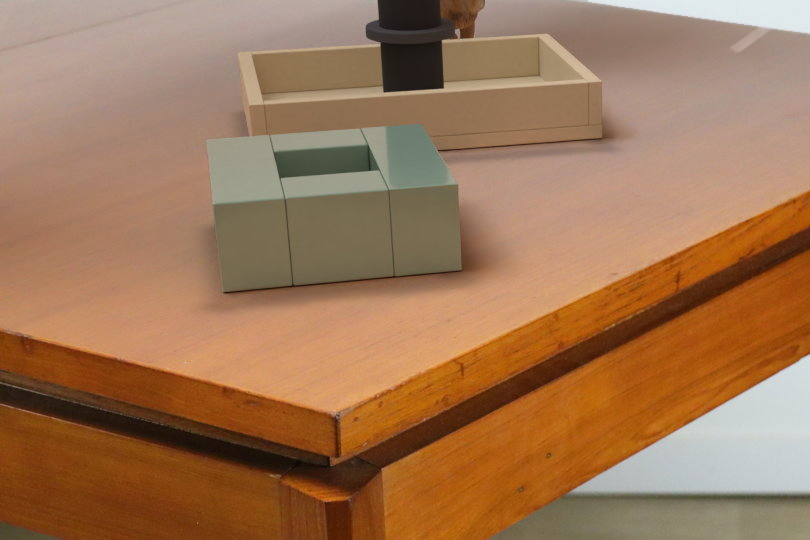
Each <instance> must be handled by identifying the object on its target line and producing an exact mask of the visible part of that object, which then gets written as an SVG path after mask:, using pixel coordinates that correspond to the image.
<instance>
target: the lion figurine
mask: <svg viewBox="0 0 810 540" xmlns="http://www.w3.org/2000/svg"><path fill="white" fill-rule="evenodd" d="M485 3H486V0H440V10H441V18H445V19H449V20H451V21H453V22H454V23H455V30H459V38H458V34H457V33H456V32H455V35H454V36H452V37H451V38H448V39H445V40H451V39H468V38H474V36H475V31H476V19H477V18H478V13H480V11H482V10H483V9H484V8H485V5H486V4H485Z"/></svg>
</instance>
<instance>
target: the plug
mask: <svg viewBox="0 0 810 540" xmlns="http://www.w3.org/2000/svg"><path fill="white" fill-rule="evenodd" d="M377 11H378V13H377V15H378V19H376V20H373V21H370V22H368V23H366V24H365V37H366V38H367V39H368V40H370V41H372V42H376V43H379V44H380V47H381V63H382V79H383V93H386V92H401V91H416V90H431V89H444V76H443V54H442V40H445V39H448V38H451V37H452V36H454V35H455V33H456V29H455V23H454V22H453V21H451V20H449V19H445V18H441V10H440V0H377Z"/></svg>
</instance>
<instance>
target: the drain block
mask: <svg viewBox="0 0 810 540" xmlns="http://www.w3.org/2000/svg"><path fill="white" fill-rule="evenodd" d="M205 144H206V153H207V164H208V175H209V183H210V195H211V204H212V205H211V206H212V212H213V222H214V232H215V239H216V240H215V241H216V248H217V257H218V266H219V275H220V281H221V282H220V284H221V285H220V286H221V290H222V291H221V292H222V293H229V292H240V291H250V290H261V289H271V288H283V287H292V286H306V285H315V284H317V285H318V284H328V283H337V282H348V281H349V282H350V281H358V280H371V279H381V278H391V277H404V276H405V277H406V276H414V275H425V274H427V275H428V274H436V273H447V272H448V273H449V272H456V271H462V269H463V267H462V247H461V244H462V243H461V221H460V199H459V183H458V181H457V180H456V179H455V177H454V175H453V174H452V172H451V170H450V168H449V167H448V165H447V163H446V162H445V160H444V159H443V157H442V155H441V154H440V151H439V150H437V149H436V147H435V145H434V144H433V142H432V140H431V139H430V137H429V135H428V134H427V132H426V130H425V129H424V127H423V125H422V124H411V125H397V126H383V127H370V128H361V129H345V130H331V131H317V132H303V133H289V134H275V135H270V136H269V135H261V136H249V135H248V136H236V137H222V138H221V137H220V138H209V139H206V141H205Z"/></svg>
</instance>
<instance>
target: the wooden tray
mask: <svg viewBox="0 0 810 540" xmlns="http://www.w3.org/2000/svg"><path fill="white" fill-rule="evenodd" d="M442 54H443V76H444V89H431V90H416V91H401V92H386V93H383V79H382V63H381V47H380V43H370V44H354V45H353V44H352V45H338V46H337V45H336V46H319V47H304V48H287V49H271V50H270V49H269V50H254V51H253V50H252V51H239V52H237V58H238V69H239V79H240V87H241V96H242V97H241V98H242V106H243V111H244V116H245V121H246V126H247V131H248V136H261V135H269V136H270V135H275V134H289V133H303V132H317V131H331V130H345V129H361V128H370V127H383V126H397V125H411V124H422V125H423V127H424V129H425V130H426V132H427V134H428V135H429V137H430V139H431V140H432V142H433V144H434V145H435V147H436V149H437V150H438V151H449V150H461V149H475V148H489V147H503V146H513V145H514V146H515V145H527V144H528V145H529V144H540V143H541V144H542V143H553V142H567V141H580V140H591V139H592V140H593V139H602V138H603V81H602V80H601V79H600V78H599V77H598V75H597V76H596V74H594V73H593V72H592V71H591V70H590V69H589V68H588V67H587V66H585V65H584V64H583V63H582V62H581V61H580V60H578V59H577V58H576V57H575V56H574V55H573V54H571V52H570V51H568V50H567V49H566V48H565V47H563V45H561V44H560V42H558V41H557V40H556V39H554V37H552V36H551V35H550V34H549V33H537V34H519V35H518V34H517V35H504V36H489V37H487V36H486V37H473V38H468V39H460V38H458V39H451V40H442Z"/></svg>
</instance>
